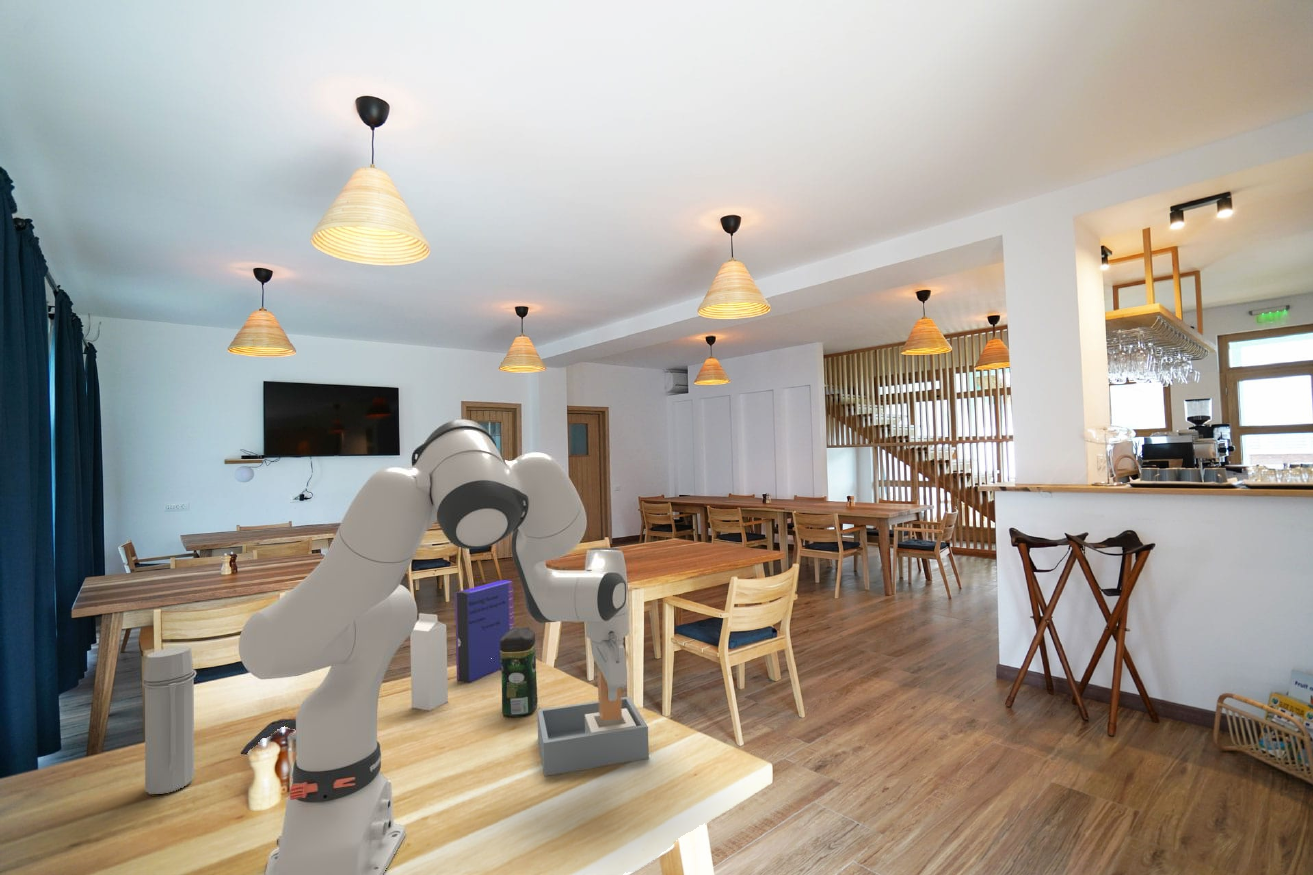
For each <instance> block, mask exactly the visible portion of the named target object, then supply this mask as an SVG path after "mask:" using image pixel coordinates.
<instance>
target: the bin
mask: <svg viewBox="0 0 1313 875" xmlns="http://www.w3.org/2000/svg"><path fill="white" fill-rule="evenodd" d="M621 708H622V709H625V708H627V710H628V712H629V714H630V715H631V717H632V719H633V721H634V722H635V724H636V726H634V727H628V728H621V729H615V730H609V731H602V732H596V733H590V734H585V714H591V713H598V712H599V700H597V701H590V702H581V703H575V704H569V705H561V706H554V707H548V708H547V707H546V708H541V709H536V712H537V713H536V714H537V716H536V717H537V718H536V720H537V740H538V745H539V746H538V747H539V751H540V758H541V764H542V769H543V774H544V775H543V776H544V777H547V776H554V775H558V774H565V773H571V772H576V771H582V770H589V769H595V768H600V767H605V766H611V765H618V764H622V763H628V762H633V761H634V762H635V761H640V760H646V759H650V753H649V752H650V751H649V749H650V748H649V726H648V724H647V722H646V721H645V720H644V717H643V716H642V715H641V713H640V711H639V709H638V708H637V707H636V705H635V703H634V701H633V699H632V698H631V696H623V697H621Z"/></svg>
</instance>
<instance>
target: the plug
mask: <svg viewBox="0 0 1313 875" xmlns="http://www.w3.org/2000/svg"><path fill="white" fill-rule="evenodd" d="M597 684H598V685H597V694H598V695H597V697H598V700H597V701H599V714H600V717H601V719H602V721H605V720H612V719H618V718H622V708H621V698H622V687H618V690H617V700H615V701H609V700H608V697H607V690H608V687H607V683H606V681H605V679H604V677H603V675H602V673H601V671H600V669H599V668H597Z"/></svg>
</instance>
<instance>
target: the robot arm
mask: <svg viewBox="0 0 1313 875" xmlns="http://www.w3.org/2000/svg"><path fill="white" fill-rule="evenodd" d="M416 455H417V456H416ZM360 488H361V489H359V491H358V492H357V494H356V495H355V497H354V498H353V500H352V502H350V503H351V504H350V505H349V506H348V509H347V511H346V512H345V513H344V516H343V518H342V520H341V522H340V524H339V527H338V529H337V531H336V533H335V535H334V536H333V539H332V541H331V543H330V545H329V548H328V549H327V551H326V552H325V555H324V557H323V558H322V559H321V561H320V562H319V563H318V564H317V566H316V567H315V568H314V569H313V570H312V571H311V572H310V573H309V574H308V575H307V576H306V577H305V578H303V579H302V580H301V581H300V582H299V583H298V584H297V585H296V586H295V587H293V588H292V589H291V590H290V591H289V592H287V593H286V594H285V595H283V596H282V597H281V598H279V599H278V600H275V601H274V602H273V603H271V604H269V605H267V606H266V607H263V608H261V609H260V610H258V611H256V612H254V613H253V614H251V616H250V617H249V618H248V619H247V621H246V622H245V624H244V626H243V627H242V629H241V633H240V634H239V639H238V653H239V658H240V661H241V663H242V664H243V666H244V668H245V669H246V670H247V672H249V673H250V674H251V675H252V676H254V677H255V678H257V679H259V680H271V679H273V680H275V679H283V678H291V677H299V676H303V675H306V674H309V673H311V672H315V671H319V670H322V669H325V668H328V667H330V668H329V669H328V672H327V674H326V676H325V677H324V679H323V680H322V682H321V683H320V684H318V686H317V687H316V688H315V689H314V690H312V692H311V693H309V694H308V695H307V696H306V697H305V699H303V701H302V702H301V704H300V705H299V708H298V710H297V713H296V716H295V719H296V758H295V759H296V760H295V761H294V762H293V768H292V773H291V786H290V788H289V789H290V790H289V795H288V797H286V798H285V813H284V817H283V825H282V830H281V835H279V836H278V837H277V840H276V846H277V847H276V848H274V849H273V850H272V851H271V852H270V853H269V855H268V859H267V864H266V868H265V871H264V872H265V874H264V875H383V873H384V872H385V873H386V871H385V870H387V869H388V867H389V865H390V864H391V862H392V860H393V858H394V856H395V855H396V853H397V852H398V851H397V850H398V849H399V848H400V845H401V843H402V842H403V840H404V838H405V836H406V828H405V826H404V825H402V824H398V823H395V821H394V817H395V816H394V805H393V804H394V803H393V788H392V781H391V780H390V779H388V778H387V777H386V776H385V775H384V774H383V773H382V772H381V768H382V751H381V744H380V742H379V741H378V709H379V699H380V698H379V697H380V691H381V686H382V684H383V680H384V677H385V675H386V672H387V669H388V667H389V665H390V663H391V661H392V659H393V657H394V656H395V655H396V652H397V651H398V650H399V648H400V647H401V646H402V644H403V643H404V642H405V641H406V640H407V639H408V638H409V637H410V634H411V633H412V631H413V629H414V627H415V624H416V622H417V621H418V607H417V606H418V605H417V603H416V600H415V597H414V596H413V594H412V593H411V591H410V590H409V589H408V588H406V587H405V586H404V585H402V584H401V582H402V580H403V578H404V577H405V575H406V572H407V571H408V569H409V566H410V564H411V562H412V561H413V559H414V557H415V555H416V553H417V551H418V550H419V547H420V545H421V544H422V541H423V538H424V536H425V534H426V532H428V531H429V529H430V528H431V527H432V526H433V525H434V524H435V523H438V526H439V527H440V530H441V531H442V532H443V534H444V536H445V537H446V539H447V540H448V541H449V542H450V543H451V544H452V545H454V546H455V547H458V548H461V549H466V550H468V549H469V550H474V549H476V550H477V549H478V550H479V549H483V548H488V547H491V546H493V545H495V544H497V543H500V541H502V540H504V539H505V538H507V537H508V536H509V535H511V534H512V536H511V542H510V544H511V545H510V547H511V554H512V558H513V561H514V564H515V567H516V571H517V573H518V576H519V580H520V583H521V586H522V588H523V591H524V601H525V607H526V609H527V611H528V613H529V615H530V616H531V617H532V618H533V619H534V620H535V621H536V622H538V623H542V624H543V623H544V624H545V623H556V622H566V623H569V622H570V623H571V622H572V623H585V636H586V637H587V639H589V640H590V646H591V647H590V648H591V652H592V657H593V660H594V661H595V663H596V666H597V667H598V669H600V671H601V673H602V675H603V677H604V679H605V681H606V683H607V687H608V690H607V697H608V700H609V701H615V700H617V690H618V687H621V688H623V687H626V686H627V683H628V670H627V669H628V668H627V658H626V650H625V647H624V644H623V643H624V638H625V637H627V636H629V634H630V620H629V619H630V618H629V606H628V604H627V593H628V575H627V574H628V573H627V567H626V566H627V565H626V560H625V556H624V553H623V550H621V549H619V548H616V547H594V548H590V549H587V550H586V556H585V563H584V570H561V569H560V570H558V569H553V568H549V567H547V565H546V564H547V563H546V562H547V561H552V560H556V559H561V558H562V557H565V556H567V555H568V554H570V553H571V552H572V551H574V550H575V548H576V547H577V546H578V545H579V544H580V543H581V541H582V539H583V538H584V536H585V534H586V533H585V532H586V529H587V524H588V522H587V521H588V520H587V513H586V509H585V507H584V504H583V501H582V500H581V497H580V495H579V493H578V490H577V489H576V487H575V485H574V483H573V482H572V480H571V478H570V476H568V474H567V473H566V470H564V468H563V467H562V466H561V465H560V463H559V462H558V461H557V460H556V459H555V458H554V457H553V456H551V455H549V454H548V453H544V452H539V451H534V452H533V451H532V452H531V451H530V452H527V453H524V454H521V455H519V456H517V457H515V458H514V459H513V460H506V459H505V460H503V457H502V455H501V453H500V451H499V450H498V448H497V444H496V441H495V439H494V438H493V436H492V435H491V434H490V432H489V431H488V430H487V429H486V428H485V427H484V426H483V425H481V424H479V423H478V422H476V421H474V420H470V419H464V418H462V419H461V418H460V419H454V420H451V421H448V422H445V423H444V424H442V425H440V426H439V427H438V428H436V429H435V430H433V431H432V432H431V433H430V435H429V436H428V437H427V439H426V440H425V441H424V443H422V444H421V445H419V446H417V447H416V448H415V449H414V450H413V452H412V454H411V466H409V467H404V466H389V467H385V468H381V469H380V470H378V471H376V472H375V473H373V474H372V475H371V476H370V477H369V478H368V479H367V481H366V482H365V483H364V485H362V487H360ZM512 532H513V533H512ZM394 854H395V855H394ZM386 868H387V869H386ZM385 873H384V874H385Z"/></svg>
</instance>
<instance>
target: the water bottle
mask: <svg viewBox="0 0 1313 875" xmlns="http://www.w3.org/2000/svg"><path fill="white" fill-rule="evenodd" d="M143 675H144V676H143V681H142V682H141V684H142V686H143V687H144V698H145V699H144V754H145V756H144V776H145V777H144V780H145V781H144V786H145V787H144V789H145V790H144V791H145V792H146V793H147V792H148V793H147V794H149V795H151V794H164V793H167V792H172V793H174V792H177V791H178V789H179V790H181V789H180V788H182V789H183V788H185V787H187V786H188V785H189V784H190V783H191V782H192V781H193V779H194V777H195V715H194V714H195V711H194V710H195V703H194V702H195V701H194V700H195V697H194V696H195V693H194V690H195V689H194V688H195V687H194V684H195V683H194V682H195V681H194V679H195V678H196V675H197V671H196V669H194V663H193V656H192V649H191V647H190V646H175V647H168V648H164V649H159V650H156V651H153V652H150V653H148V654H147V655H146V658H145V665H144V674H143ZM184 786H185V787H184ZM176 790H177V791H176ZM173 791H174V792H173ZM164 795H165V794H164Z"/></svg>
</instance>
